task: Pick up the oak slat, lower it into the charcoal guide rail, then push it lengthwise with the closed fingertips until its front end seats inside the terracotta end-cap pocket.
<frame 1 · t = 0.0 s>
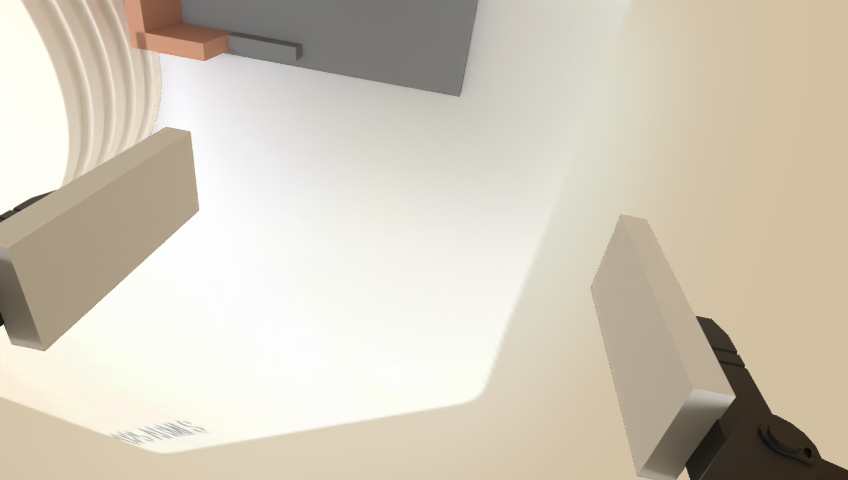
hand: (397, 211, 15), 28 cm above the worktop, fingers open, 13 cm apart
plate stack: (8, 30, 44), on the worktop
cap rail: (320, 0, 39), on the worktop
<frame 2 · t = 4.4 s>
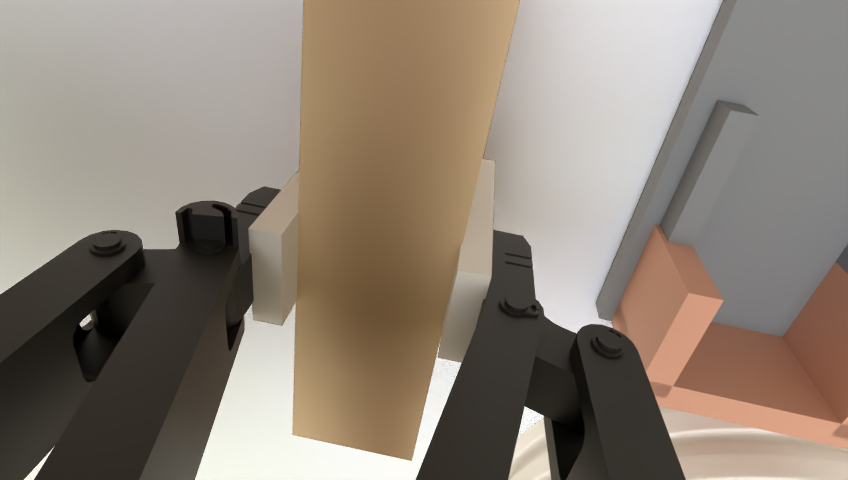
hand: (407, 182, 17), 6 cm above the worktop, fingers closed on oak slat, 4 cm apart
oak slat: (410, 180, 18), point 5 cm above the worktop, touching gripper
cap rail: (830, 86, 19), on the worktop
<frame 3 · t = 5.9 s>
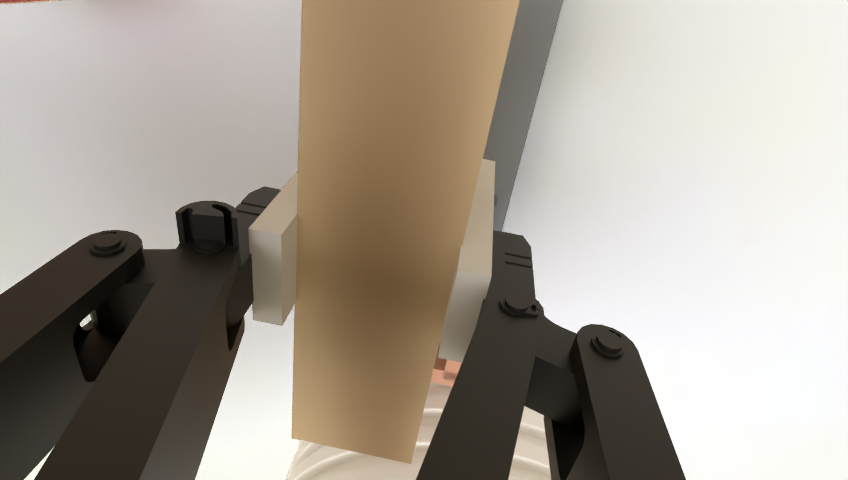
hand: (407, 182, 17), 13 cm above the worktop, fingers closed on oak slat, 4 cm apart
plate stack: (461, 456, 45), on the worktop
oak slat: (409, 182, 18), point 12 cm above the worktop, touching gripper
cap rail: (431, 159, 30), on the worktop
when the fingers open (2 cm above the worktop, at t = 7.5 s): oak slat stays where it is, resting on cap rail.
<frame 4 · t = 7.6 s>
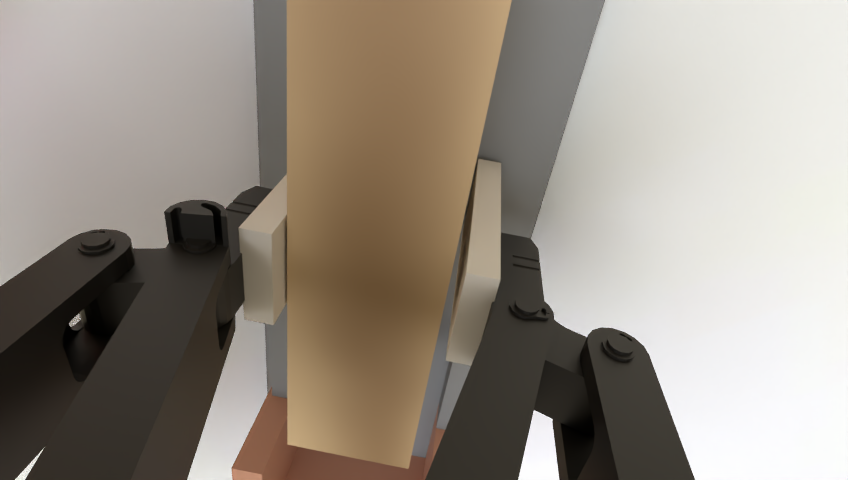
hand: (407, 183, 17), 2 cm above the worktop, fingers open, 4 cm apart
oak slat: (403, 184, 17), point 1 cm above the worktop, touching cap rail, gripper
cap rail: (391, 261, 21), on the worktop
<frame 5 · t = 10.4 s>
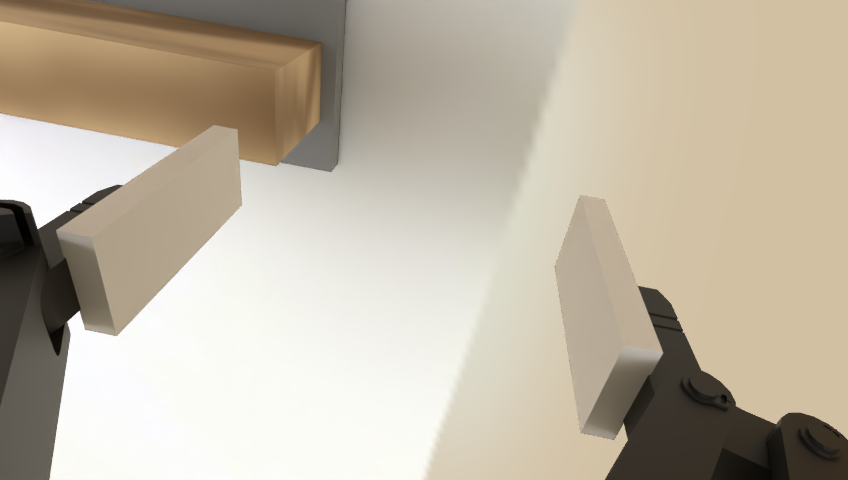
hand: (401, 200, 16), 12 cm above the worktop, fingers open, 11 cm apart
oak slat: (188, 59, 26), point 1 cm above the worktop, touching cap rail
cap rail: (123, 37, 27), on the worktop
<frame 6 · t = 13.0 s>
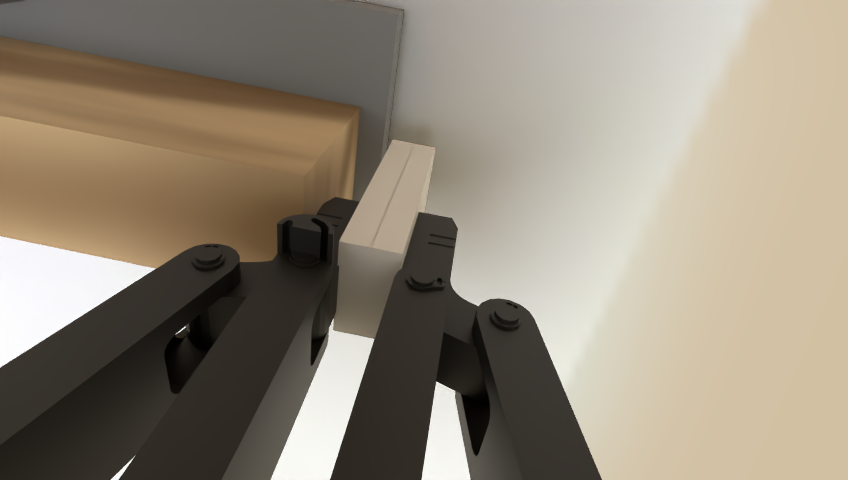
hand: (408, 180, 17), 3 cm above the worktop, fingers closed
oak slat: (175, 122, 19), point 1 cm above the worktop, touching gripper
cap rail: (93, 89, 20), on the worktop
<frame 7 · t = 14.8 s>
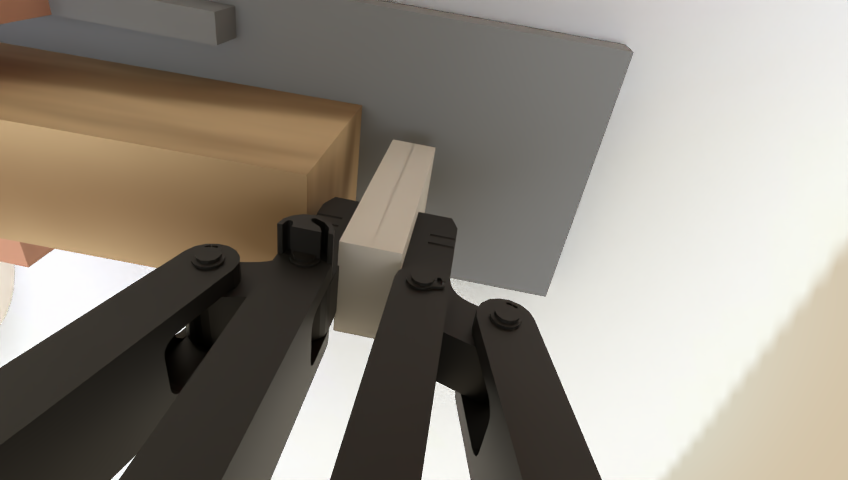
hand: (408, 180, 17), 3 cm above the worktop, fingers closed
oak slat: (179, 125, 19), point 1 cm above the worktop, touching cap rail, gripper
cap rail: (278, 121, 20), on the worktop
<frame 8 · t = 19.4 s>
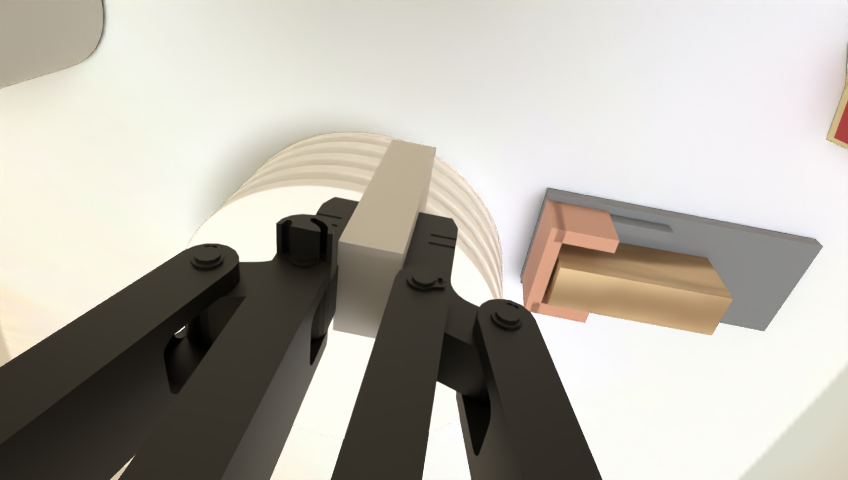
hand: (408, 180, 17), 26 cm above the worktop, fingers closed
plate stack: (367, 259, 52), on the worktop
oak slat: (622, 262, 47), point 1 cm above the worktop, touching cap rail
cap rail: (658, 258, 47), on the worktop
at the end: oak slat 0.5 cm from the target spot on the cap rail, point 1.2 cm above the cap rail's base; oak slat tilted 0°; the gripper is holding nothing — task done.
